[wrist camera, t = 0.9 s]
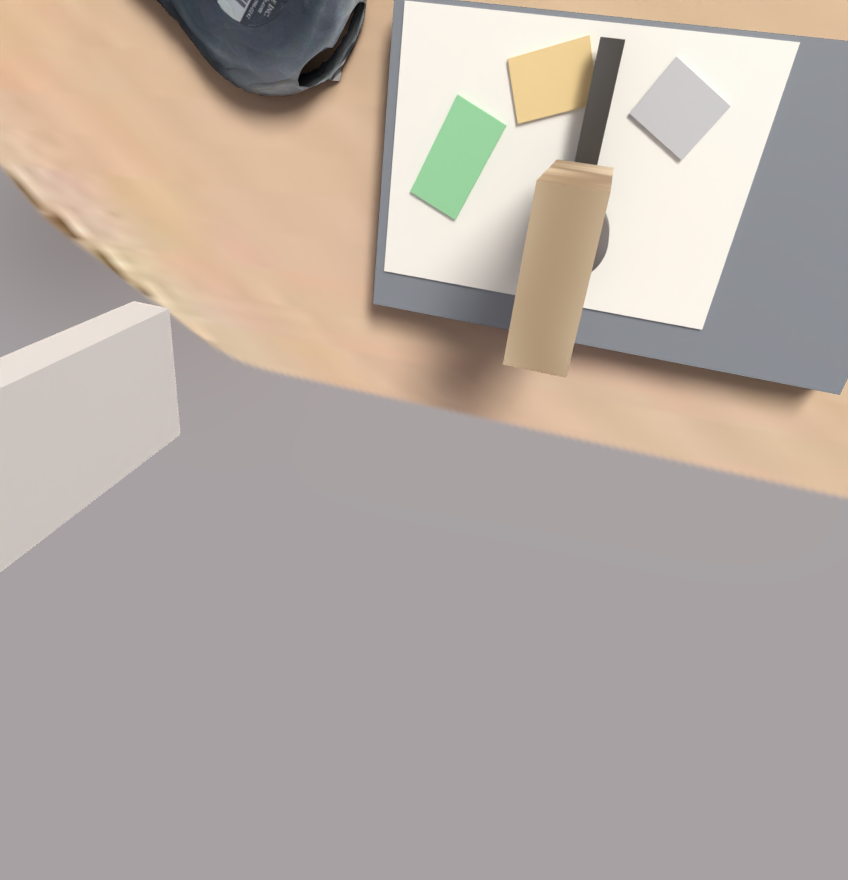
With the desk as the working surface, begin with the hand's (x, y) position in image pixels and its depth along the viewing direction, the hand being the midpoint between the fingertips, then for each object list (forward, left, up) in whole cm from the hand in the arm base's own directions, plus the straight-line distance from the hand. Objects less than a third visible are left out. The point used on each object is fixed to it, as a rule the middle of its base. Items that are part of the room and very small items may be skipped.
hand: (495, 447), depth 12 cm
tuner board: (0, +3, -22) cm, 22 cm away
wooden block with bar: (-2, +1, -20) cm, 20 cm away
